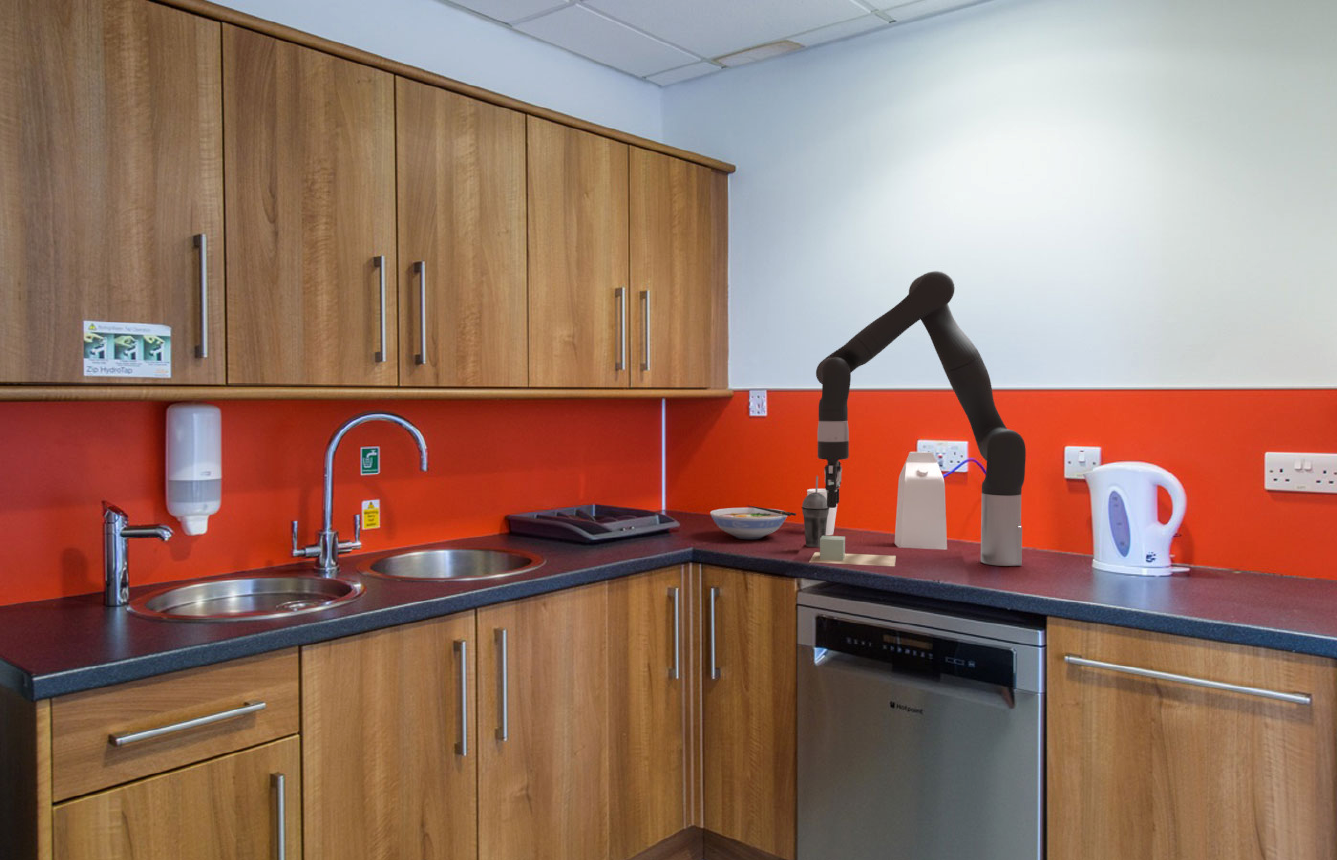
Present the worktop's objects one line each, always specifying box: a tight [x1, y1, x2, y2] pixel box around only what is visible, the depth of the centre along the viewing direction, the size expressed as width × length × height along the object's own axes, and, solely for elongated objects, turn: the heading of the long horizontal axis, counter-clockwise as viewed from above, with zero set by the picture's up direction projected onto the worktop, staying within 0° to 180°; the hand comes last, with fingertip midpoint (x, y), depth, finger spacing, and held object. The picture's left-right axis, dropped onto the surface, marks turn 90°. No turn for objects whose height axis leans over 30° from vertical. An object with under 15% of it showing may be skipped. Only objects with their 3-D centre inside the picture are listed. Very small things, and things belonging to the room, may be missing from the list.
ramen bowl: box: [709, 504, 797, 540], centre depth 264 cm, size 25×23×8 cm
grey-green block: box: [819, 535, 846, 561], centre depth 223 cm, size 6×6×5 cm
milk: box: [894, 451, 948, 550], centre depth 247 cm, size 12×12×26 cm
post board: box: [808, 551, 897, 567], centre depth 222 cm, size 20×14×6 cm
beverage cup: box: [801, 475, 829, 548], centre depth 241 cm, size 7×7×20 cm
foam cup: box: [806, 488, 838, 536], centre depth 271 cm, size 10×9×13 cm
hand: (833, 505), depth 223 cm, fingers open, 8 cm apart
